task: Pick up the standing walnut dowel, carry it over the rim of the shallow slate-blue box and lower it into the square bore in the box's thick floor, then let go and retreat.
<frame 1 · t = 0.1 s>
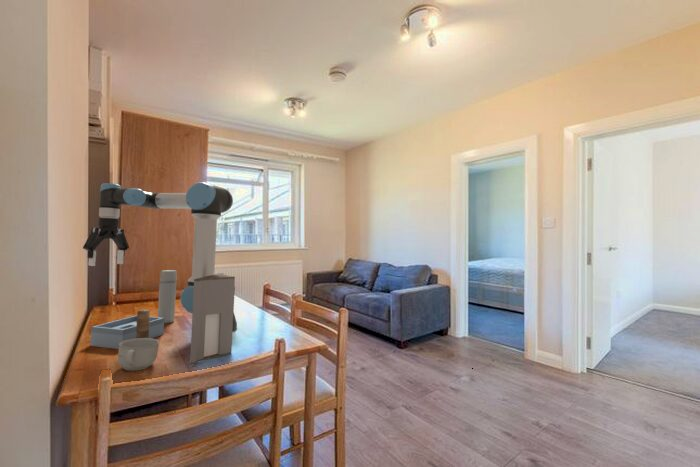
hand: (106, 264, 145), 28 cm above the table, fingers open, 13 cm apart
cabinet: (217, 354, 116), on the table
teacup: (135, 369, 101), on the table
box: (129, 339, 129), on the table
peg: (141, 348, 119), on the table
water bottle: (167, 321, 158), on the table
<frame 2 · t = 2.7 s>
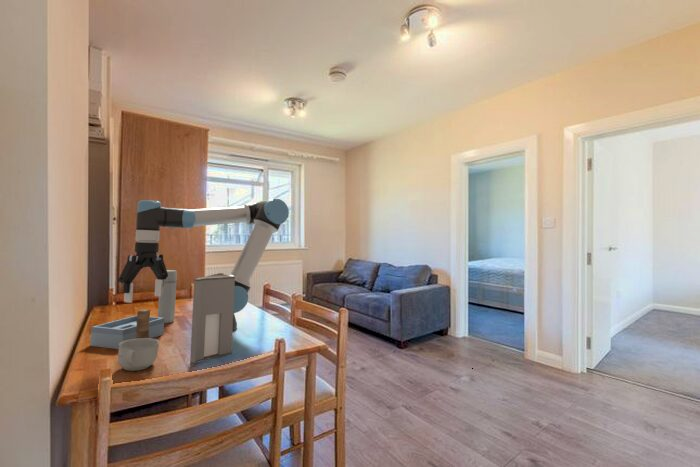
hand: (143, 299, 119), 18 cm above the table, fingers open, 13 cm apart
nothing on the table moved.
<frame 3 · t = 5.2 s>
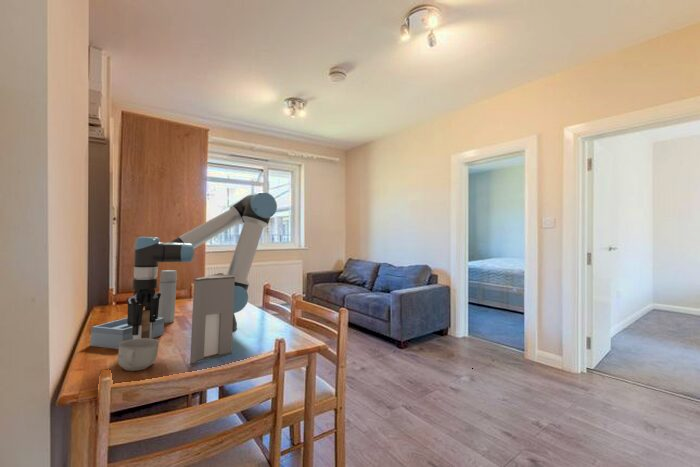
hand: (142, 341, 119), 3 cm above the table, fingers closed on peg, 4 cm apart
peg: (141, 348, 119), on the table, touching gripper
everything else where it was.
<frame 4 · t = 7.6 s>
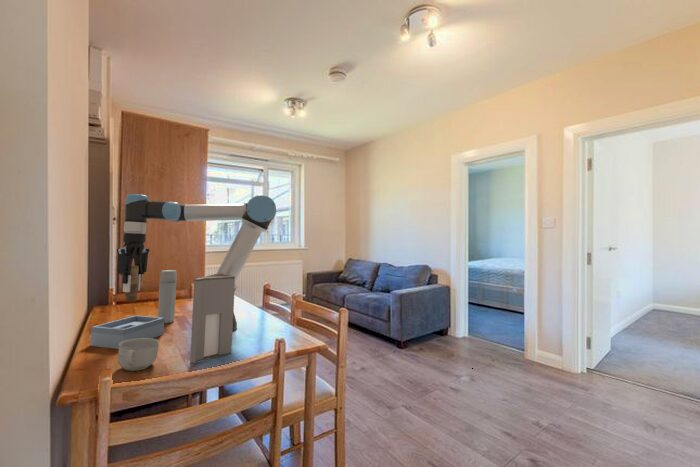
hand: (131, 290, 129), 19 cm above the table, fingers closed on peg, 4 cm apart
peg: (130, 300, 129), point 16 cm above the table, touching gripper
everything else where it was.
when the fingers open (7 cm above the table, at t = 9.9 s): peg drops 2 cm, resting in box.
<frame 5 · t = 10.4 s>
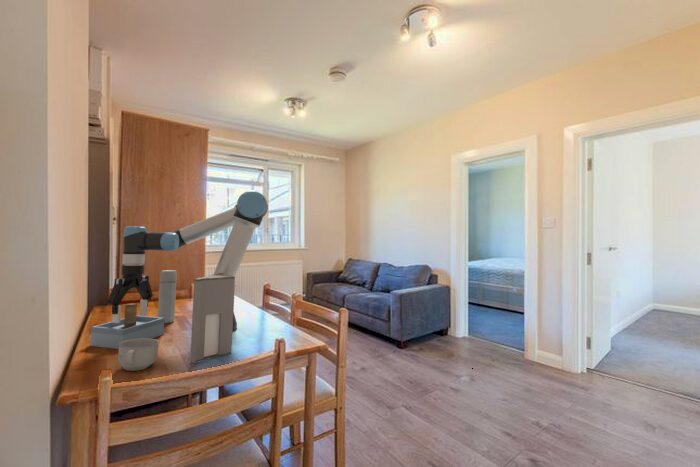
hand: (130, 318, 129), 8 cm above the table, fingers open, 12 cm apart
peg: (129, 339, 129), resting in box
everything else where it was.
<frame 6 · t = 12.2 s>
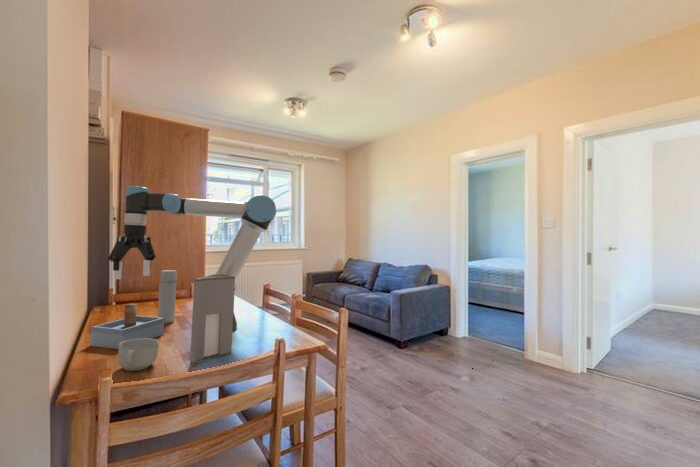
hand: (132, 277, 129), 25 cm above the table, fingers open, 13 cm apart
nothing on the table moved.
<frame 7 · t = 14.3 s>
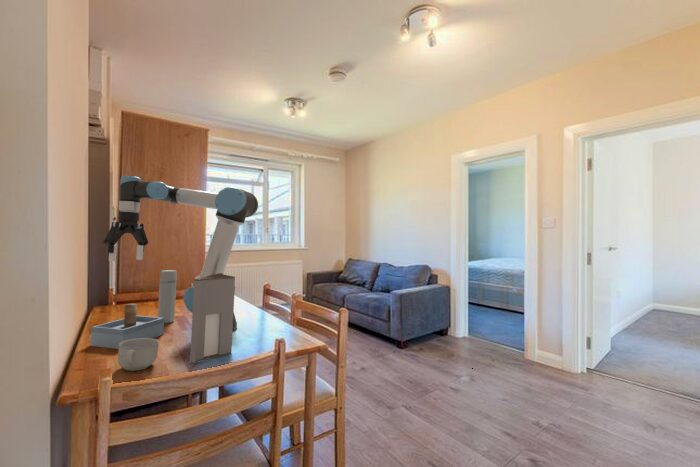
hand: (126, 260, 140), 31 cm above the table, fingers open, 13 cm apart
nothing on the table moved.
at the end: peg 0.0 cm off-centre on the box, point 0.0 cm above the box's base; peg tilted 0°; the gripper is holding nothing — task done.
